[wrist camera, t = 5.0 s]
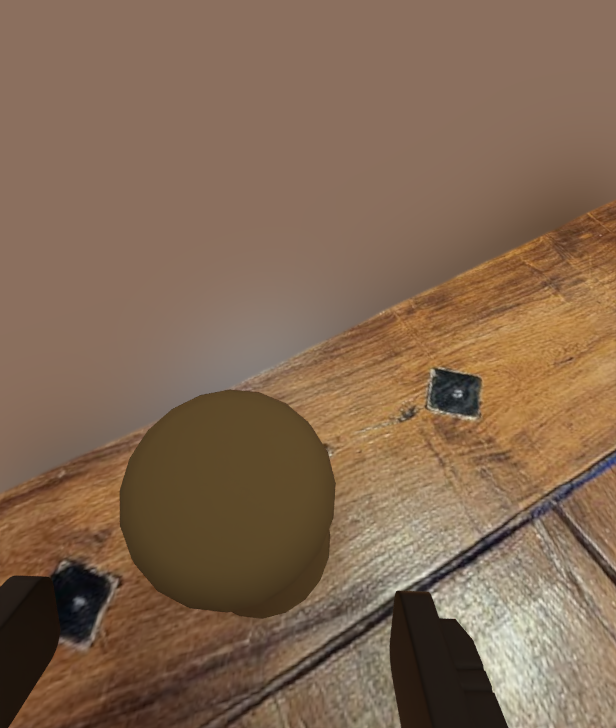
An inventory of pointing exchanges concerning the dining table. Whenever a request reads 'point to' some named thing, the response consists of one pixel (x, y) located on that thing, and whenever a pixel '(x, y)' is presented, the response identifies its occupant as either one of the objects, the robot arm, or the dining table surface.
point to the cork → (230, 505)
